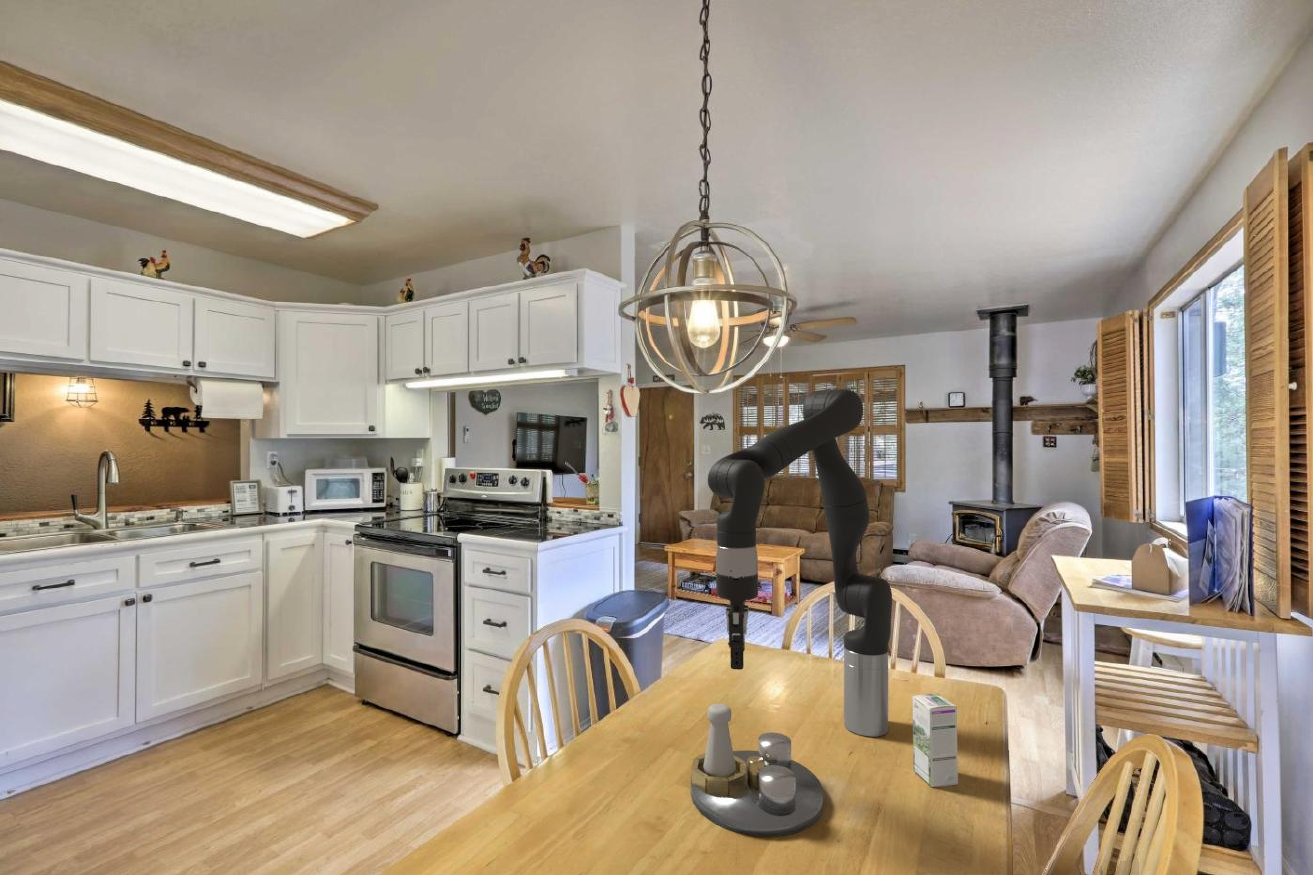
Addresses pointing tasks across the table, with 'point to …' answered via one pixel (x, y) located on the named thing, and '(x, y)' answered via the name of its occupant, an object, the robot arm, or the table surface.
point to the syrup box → (935, 740)
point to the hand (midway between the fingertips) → (738, 659)
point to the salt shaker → (719, 743)
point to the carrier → (760, 791)
